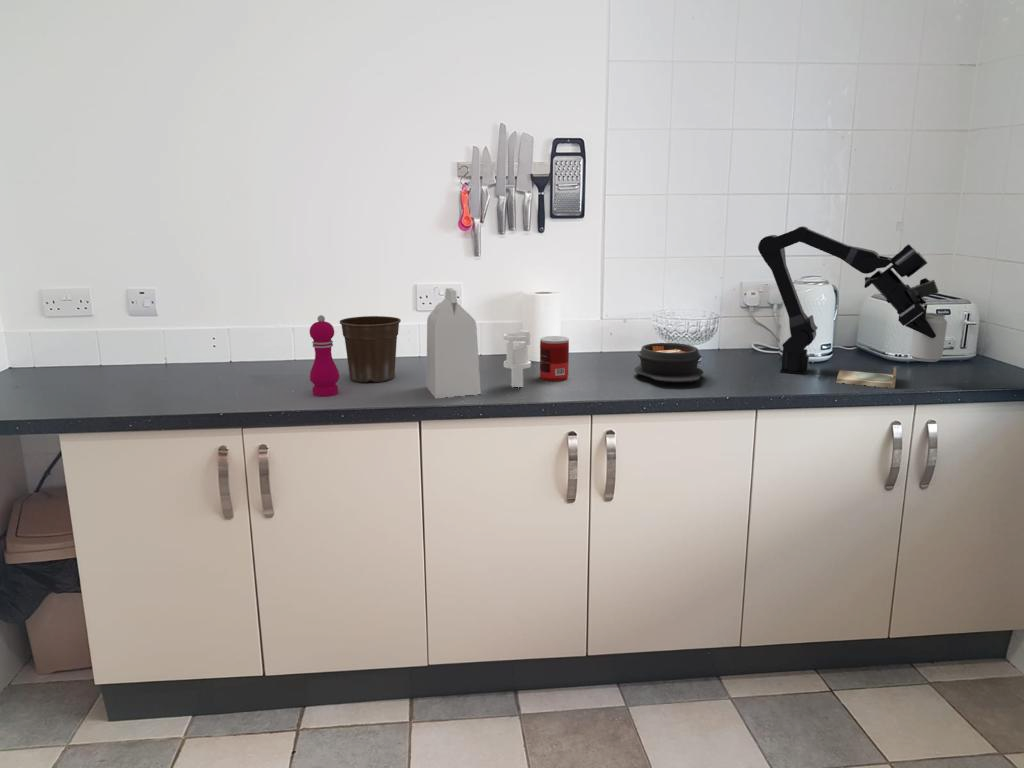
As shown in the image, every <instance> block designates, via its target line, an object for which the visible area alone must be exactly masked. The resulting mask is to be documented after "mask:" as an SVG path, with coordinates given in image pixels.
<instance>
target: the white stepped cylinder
mask: <svg viewBox="0 0 1024 768" xmlns="http://www.w3.org/2000/svg"><path fill="white" fill-rule="evenodd" d="M531 339H532V333H531V331H530V330H524V329H521V330H518V331H514V332H513V331H512V332H506V333H503V340H504V341H506V360H504V361H503V367H504V368H505V369H510V371H511V386H512V387H511V388H513V387H518V388H517V389H520V388H519V387H522V388H523V387H524V369H529V368H530V367H532V362H531V360H529V352H528V351H529V350H528V349H529V347H528V346H530V345H531ZM517 342H518V345H517Z"/></svg>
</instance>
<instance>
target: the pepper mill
mask: <svg viewBox="0 0 1024 768" xmlns="http://www.w3.org/2000/svg"><path fill="white" fill-rule="evenodd" d="M325 319H326V318H325V316H324V315H322V314H321V315H318V316H317V321H316V322H313V323H312V324H311V326H310V328H309V336H310V338H311V339H312V340H313V341H312V342H311V343H312V347H313V348H314V352H315V353H314V361H313V364H312V367H311V369H310V374H309V381H310V382H311V383H312V384H313V385H314V386H313V387H312V395H314V396H316V397H331V396H336V395H337V394H338V393H339V385H338V384H337V383H338V381H339V379H340V373H339V369H338V367H337V366H336V364H335V362H334V360H333V359H334V358H333V355H332V347H334V344H333V343H334V341H333V340H332V339H333V338H334V336H335V329H334V326H333V324H332V323H330V322H328V321H325Z"/></svg>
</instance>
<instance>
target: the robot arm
mask: <svg viewBox="0 0 1024 768" xmlns="http://www.w3.org/2000/svg"><path fill="white" fill-rule="evenodd" d="M798 243H802V244H805V245H807V246H808V247H809V246H810V247H812V248H815V249H817V250H820V251H822V252H824V253H826V254H829V255H831V256H834V257H836V258H838V259H840V260H842V261H843V262H845V263H846V264H848V265H849V266H851V267H852V268H853V269H855V270H856V271H858V272H860V273H862V274H866V275H867V274H871V273H874V272H875V271H876V270H877V269H883V268H887V267H888V266H889V265H890V266H889V267H888V268H887V269H885V270H884V271H881V270H877V271H876V272H875V273H874V274H872V275H871V276H865V277H864V285H863V287H864V288H865V289H867V288H868V287H869V286H870V287H871V285H873V286H874V288H876V290H878V292H879V293H880V294H881V295H882V296H883V297H884V299H885V301H886V302H887V303H888V304H890V305H891V307H893V309H894V310H896V313H897V315H898V322H899V323H900V324H901V325H902V326H903V327H904V326H905V327H906V328H909V329H911V330H912V331H913V330H915V331H918V332H920V333H922V334H924V335H926V336H928V337H930V338H935V337H936V334H935V333H934V331H933V329H932V328H931V326H930V324H929V323H928V321H927V320H926V313H927V310H928V309H927V308H928V303H927V300H926V299H925V297H928V296H930V295H932V296H933V295H936V294H938V293H939V289H938V287H937V284H936V282H935V279H931V280H929V279H928V278H927V277H925V278H921V279H919V280H920V281H919V284H916V285H915V286H910V285H909V284H905V283H904V281H902V279H901V278H904V277H907V278H910V277H912V276H913V275H914V274H915V273H917V272H918V271H919V270H921V269H922V268H924V267H925V266H926V265H927V264H928V261H927V260H926V258H924V256H923V255H922V254H921V253H920V252H917V251H916V249H915V248H914V247H913V246H912V245H911V244H909V243H908V244H907V245H905V246H904V247H903V248H902V249H901V250H900V251H899V252H897V253H896V254H895V255H894V256H893V257H889V256H883V255H880V254H879V253H878V252H877V251H875V250H872V249H868V248H862V247H858V246H853V245H848V244H846V243H843V242H840V241H838V240H836V239H834V238H832V237H829V236H826V235H825V234H821V233H819V232H817V231H814V230H811V229H809V227H807V226H804V225H803V226H798V227H797V228H796V229H793V230H791V231H788V232H785V233H782V234H780V235H776V234H770V235H767V236H764V237H763V238H762V239H760V240H759V243H758V245H757V248H758V252H759V254H760V256H761V258H762V259H763V260H764V262H765V264H766V265H767V266H768V267H769V269H770V270H771V272H772V275H773V278H774V280H775V284H776V286H777V288H778V291H779V295H780V296H781V299H782V302H783V305H784V308H785V310H786V313H787V315H788V324H789V332H790V333H789V334H790V337H788V338H787V339H786V340H785V341H784V342H783V343H782V345H781V346H782V356H781V367H780V370H779V372H780V373H787V374H788V373H789V374H799V375H800V374H801V375H805V374H806V372H807V371H809V362H810V361H809V360H810V356H809V355H808V349H806V348H807V347H808V346H809V345H811V344H812V343H813V341H814V340H815V338H816V337H817V330H818V326H817V325H816V324H815V320H814V316H813V315H812V314H811V315H810V316H808V315H807V314H806V313H805V312H804V309H803V306H802V304H801V301H800V299H799V296H798V293H797V290H796V287H795V285H794V282H793V280H792V279H793V278H792V277H791V273H790V272H789V268H788V266H787V259H786V250H785V248H787V247H790V246H792V245H795V244H798ZM892 269H893V270H892ZM894 271H895V272H896V273H897V274H898V275H899V276H900V277H901V278H899V276H898V275H897V274H896V273H895V272H894Z"/></svg>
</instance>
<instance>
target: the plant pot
mask: <svg viewBox="0 0 1024 768" xmlns="http://www.w3.org/2000/svg"><path fill="white" fill-rule="evenodd" d="M401 321H402V320H401V318H398V317H394V316H385V315H384V316H383V315H381V316H380V315H378V316H377V315H368V316H367V315H366V316H365V315H364V316H353V317H347V318H343V319H340V320H339V324H340V326H341V331H342V336H343V338H344V344H345V350H346V357H347V365H348V373H349V374H348V375H349V379H350V380H351V381H353V382H357V383H369V382H373V383H380V382H381V383H382V382H383V383H384V382H388V381H391V380H392V379H394V378H395V375H396V357H397V345H398V344H397V342H398V335H399V330H400V329H399V328H400V323H401Z"/></svg>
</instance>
